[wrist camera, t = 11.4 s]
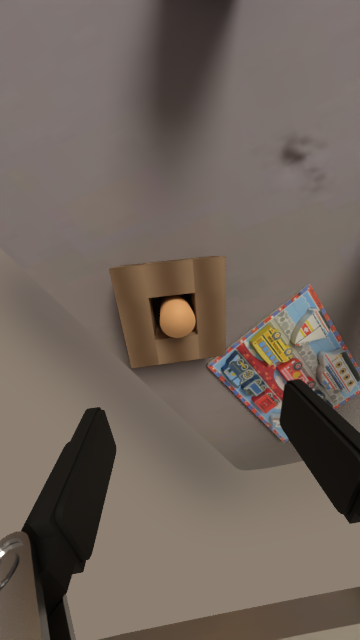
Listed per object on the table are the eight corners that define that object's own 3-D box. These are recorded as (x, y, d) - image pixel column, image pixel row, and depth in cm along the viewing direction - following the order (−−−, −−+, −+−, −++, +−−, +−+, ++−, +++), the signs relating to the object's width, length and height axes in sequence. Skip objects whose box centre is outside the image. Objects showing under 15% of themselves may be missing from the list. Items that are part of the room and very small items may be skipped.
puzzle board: (364, 382, 41) (377, 390, 38) (280, 436, 44) (286, 447, 42) (306, 281, 31) (318, 284, 29) (204, 362, 35) (207, 370, 32)
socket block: (212, 256, 27) (225, 256, 22) (214, 337, 32) (225, 355, 27) (120, 265, 27) (108, 268, 21) (137, 348, 32) (131, 368, 26)
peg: (185, 290, 29) (194, 302, 21) (187, 315, 30) (196, 335, 23) (158, 293, 29) (157, 306, 21) (162, 318, 30) (162, 340, 23)
